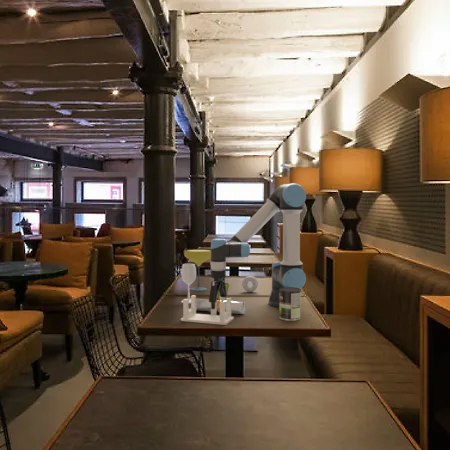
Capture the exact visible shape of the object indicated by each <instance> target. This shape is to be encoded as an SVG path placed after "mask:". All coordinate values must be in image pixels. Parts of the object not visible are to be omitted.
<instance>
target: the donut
mask: <svg viewBox="0 0 450 450" xmlns="http://www.w3.org/2000/svg"><path fill="white" fill-rule="evenodd" d="M249 282H250V283H252V285H251V286H249V285H248V283H249ZM241 287H242V289H243V290H244V291H245V292H247V293H253V292H255V291H256V290H257V289H258V287H259V281H258V279H257V277H255V276H253V275H249V276H248V275H247V276H245V277H243V280H242V282H241Z"/></svg>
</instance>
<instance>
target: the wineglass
mask: <svg viewBox="0 0 450 450" xmlns="http://www.w3.org/2000/svg"><path fill="white" fill-rule="evenodd" d="M180 272H181V279H182V282H183V283H184V284H186V285H187V297H186V299H189V305H191V294H190V292H191V290H190V289H191V288H190V287H191V285H192V284H193V283H194V282H195V281H196V280H197V279H196V278H197V268H196V263H183V264H182V266H181V271H180ZM180 303H181V304H183V300H181V302H180Z"/></svg>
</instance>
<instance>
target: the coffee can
mask: <svg viewBox="0 0 450 450" xmlns="http://www.w3.org/2000/svg"><path fill="white" fill-rule="evenodd" d="M301 291H302V289H301V288H300V289H299V288H295V287H283V288H280V289H279V306H278V307H279V308H278V309H279V310H278V311H279V313H278V318H279V320H283V321H287V322H295V321H299V320H301V304H302V303H301V297H302V296H301V293H302V292H301Z"/></svg>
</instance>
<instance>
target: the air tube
mask: <svg viewBox="0 0 450 450" xmlns="http://www.w3.org/2000/svg"><path fill="white" fill-rule="evenodd" d="M216 302H217V313H219V314H220V302H225V311H226V300H225V301H223V300H220V299H216ZM246 308H247V307H246V302H245V301H235V300H231V314H234V315H235V314H236V315H237V314H238V315H245V313H246ZM197 311H199V312H209V313H211V302H209V299H207V298H196V312H197Z"/></svg>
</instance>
